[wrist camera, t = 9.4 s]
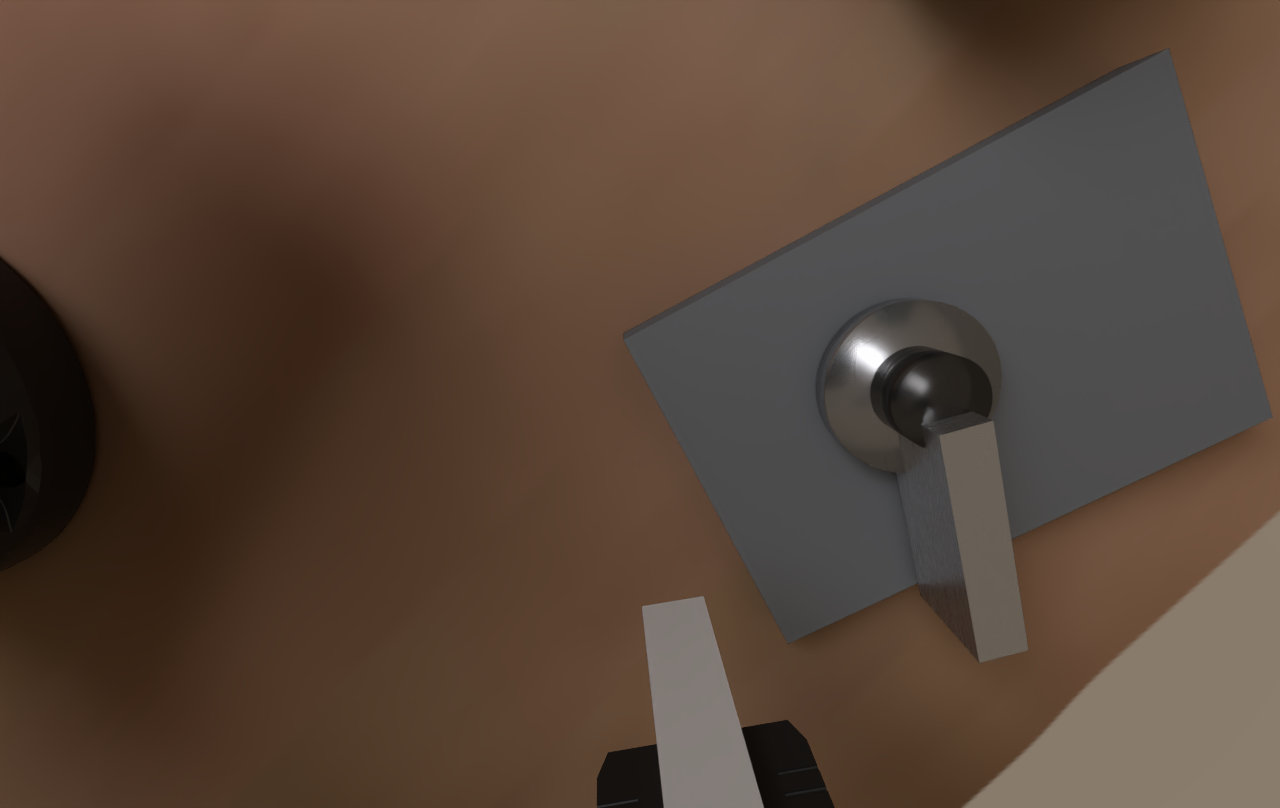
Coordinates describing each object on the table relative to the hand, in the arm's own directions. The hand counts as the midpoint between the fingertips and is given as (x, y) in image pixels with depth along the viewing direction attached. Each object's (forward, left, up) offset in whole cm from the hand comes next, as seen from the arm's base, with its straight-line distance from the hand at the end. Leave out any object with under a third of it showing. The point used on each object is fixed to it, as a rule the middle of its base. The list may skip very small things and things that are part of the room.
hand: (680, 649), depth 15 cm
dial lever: (+2, +9, -8) cm, 13 cm away
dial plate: (+1, +12, -10) cm, 16 cm away
